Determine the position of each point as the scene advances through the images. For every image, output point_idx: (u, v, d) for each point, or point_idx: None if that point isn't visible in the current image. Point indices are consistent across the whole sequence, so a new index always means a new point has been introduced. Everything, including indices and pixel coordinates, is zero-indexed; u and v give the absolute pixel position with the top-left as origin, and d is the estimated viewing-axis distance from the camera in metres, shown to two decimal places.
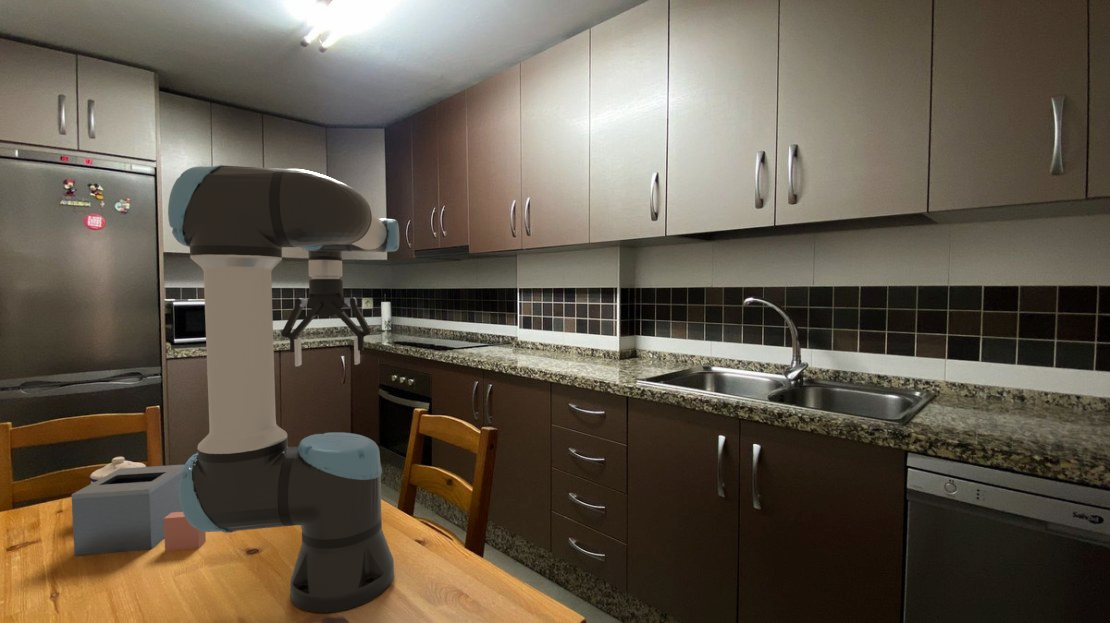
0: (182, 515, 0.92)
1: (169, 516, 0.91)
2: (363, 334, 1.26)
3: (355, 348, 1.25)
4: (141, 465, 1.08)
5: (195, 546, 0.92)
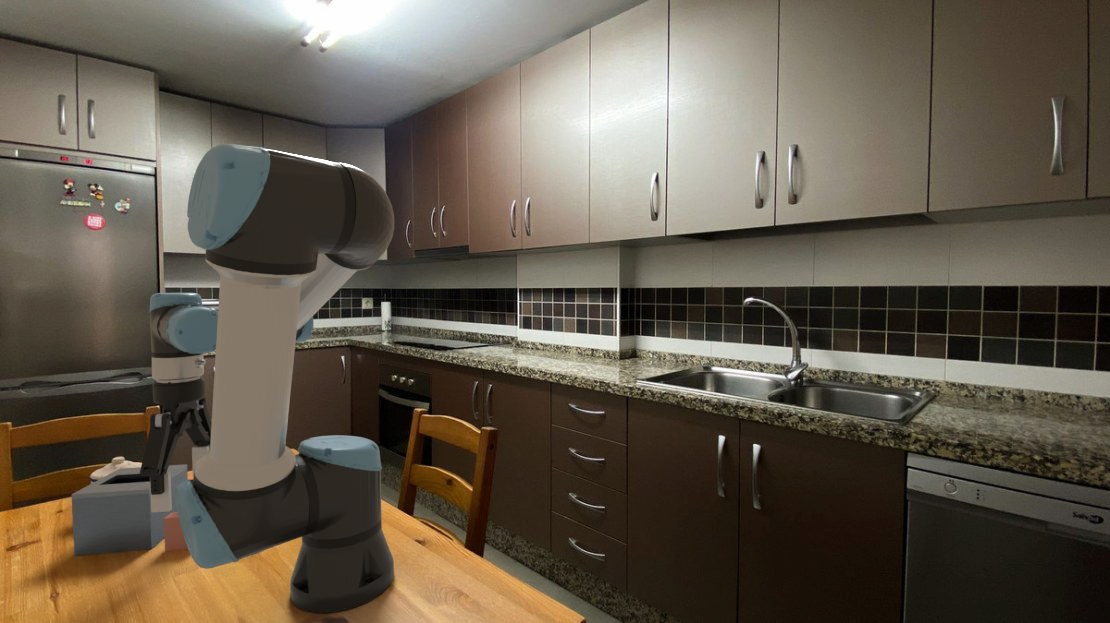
0: None
1: (169, 516, 0.91)
2: None
3: None
4: None
5: None
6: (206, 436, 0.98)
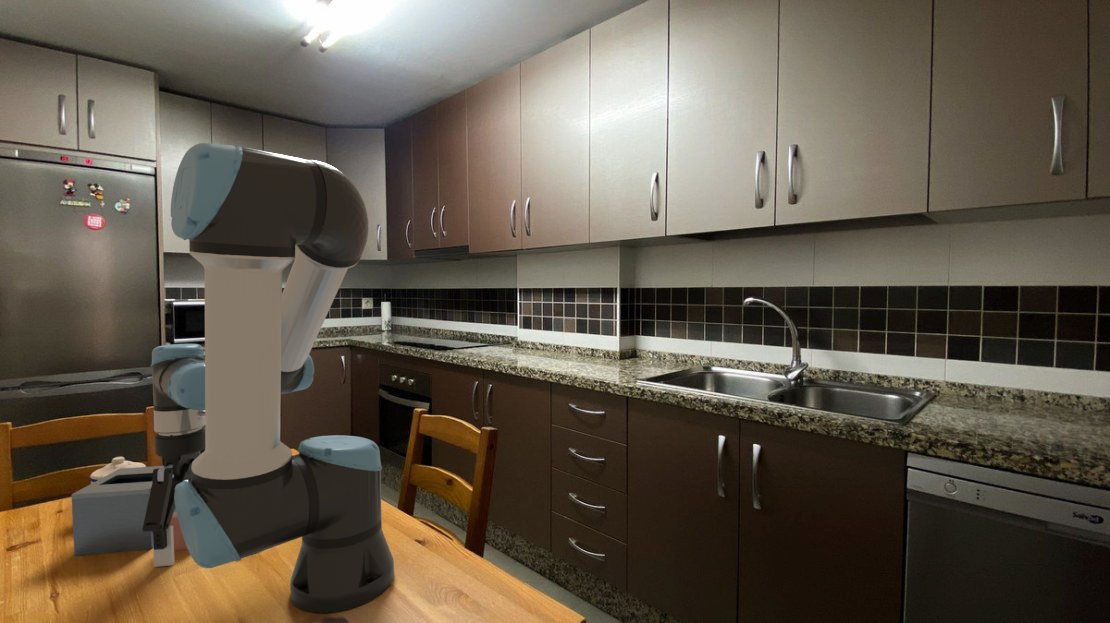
0: None
1: None
2: None
3: None
4: (141, 465, 1.08)
5: None
6: None
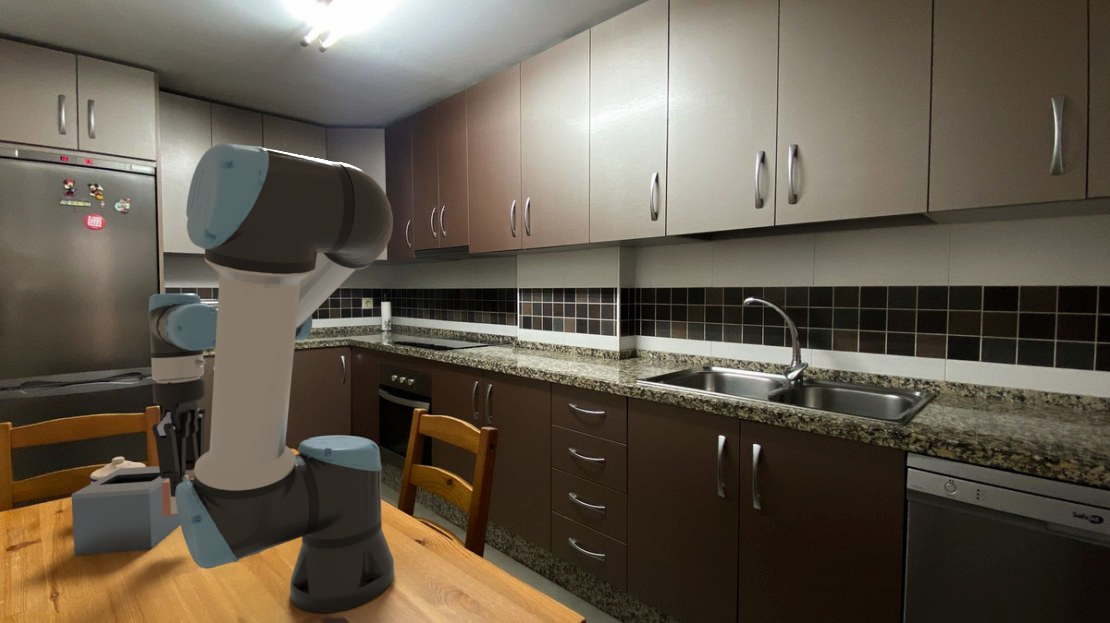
0: None
1: (167, 481, 0.91)
2: None
3: None
4: (141, 465, 1.08)
5: None
6: (196, 455, 0.94)
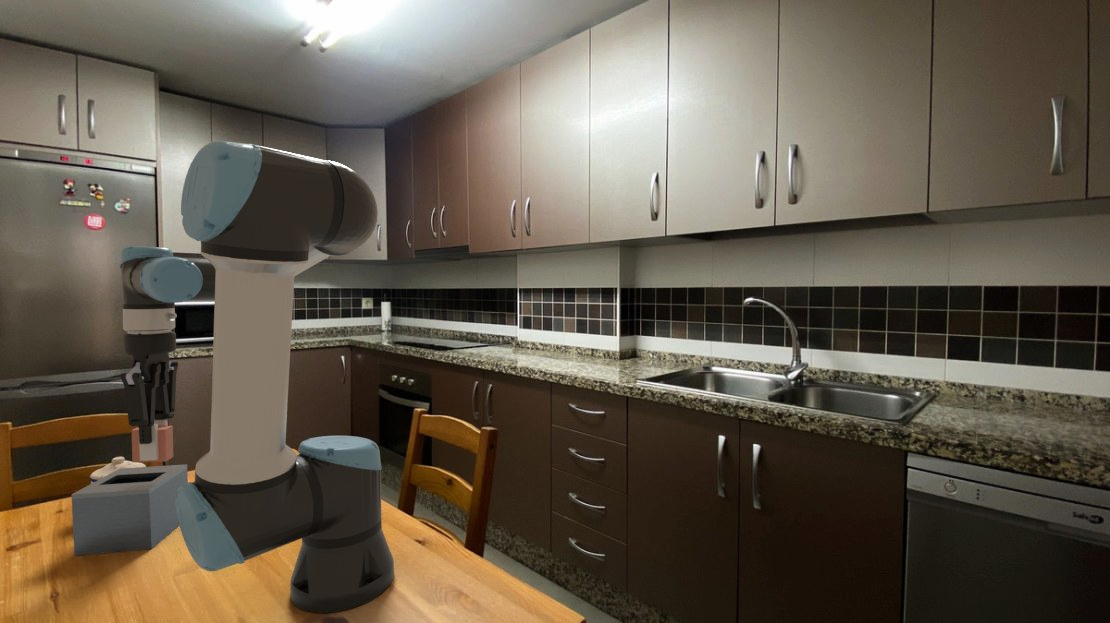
0: None
1: (137, 429, 0.93)
2: None
3: None
4: (141, 465, 1.08)
5: (162, 459, 0.94)
6: (167, 406, 0.97)
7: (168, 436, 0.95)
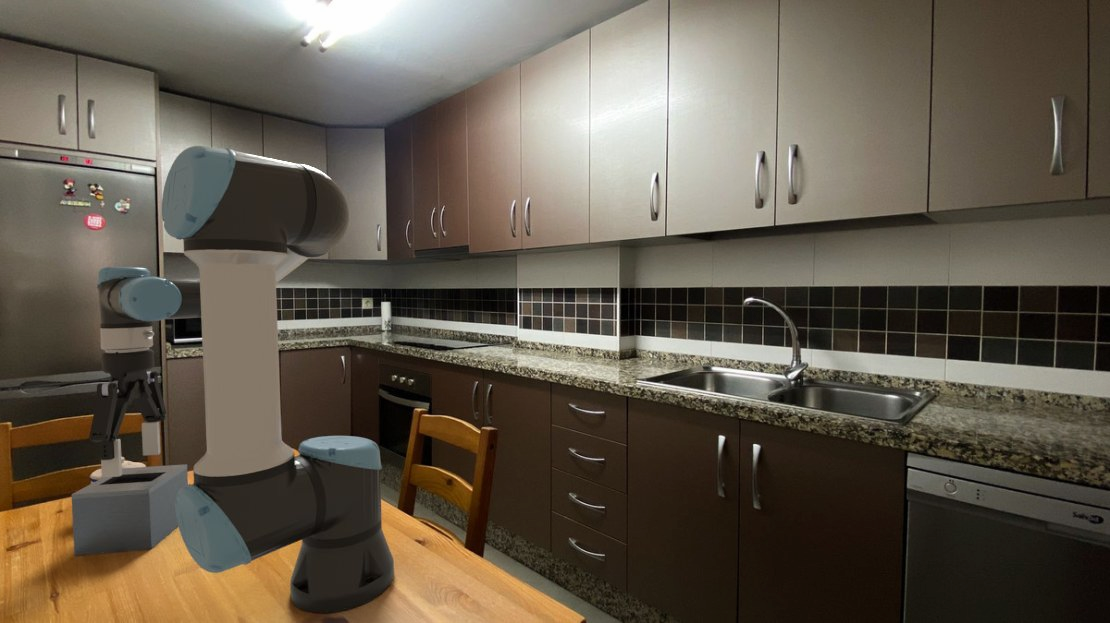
0: None
1: None
2: None
3: None
4: (141, 465, 1.08)
5: None
6: (156, 411, 1.02)
7: None
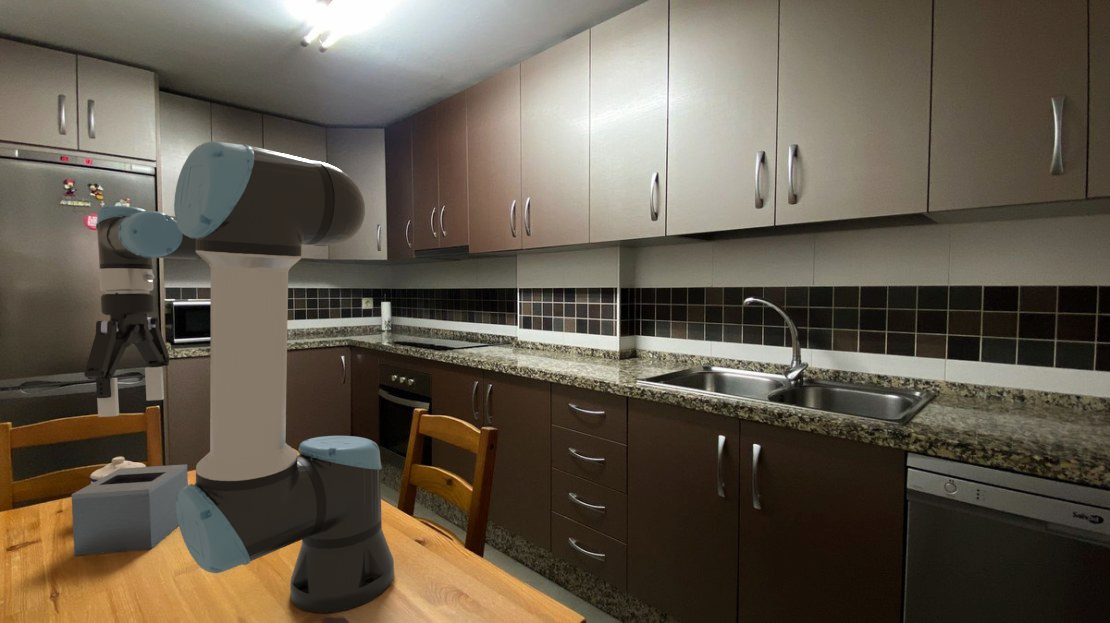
0: None
1: None
2: None
3: None
4: (141, 465, 1.08)
5: None
6: (159, 356, 1.00)
7: None
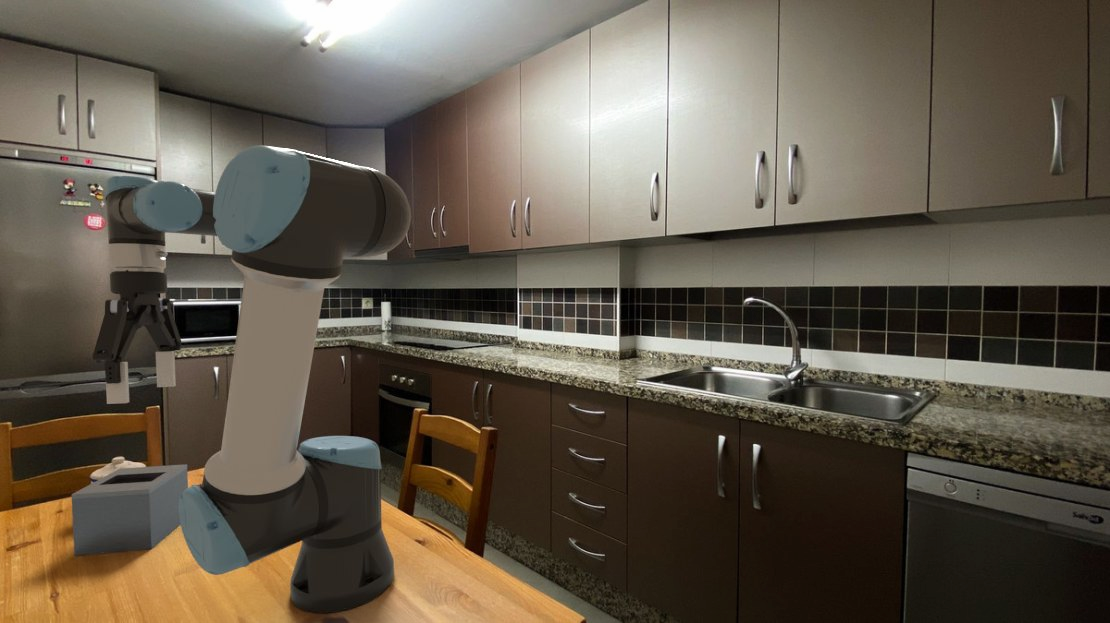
0: None
1: None
2: None
3: None
4: (141, 465, 1.08)
5: None
6: (171, 340, 0.94)
7: None
